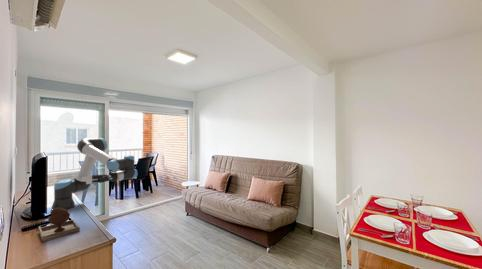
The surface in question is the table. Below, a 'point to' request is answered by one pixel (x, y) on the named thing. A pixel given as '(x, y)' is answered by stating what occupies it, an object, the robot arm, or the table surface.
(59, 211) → the ice cream bowl
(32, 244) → the table surface
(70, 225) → the light brown wooden tray
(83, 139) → the robot arm
